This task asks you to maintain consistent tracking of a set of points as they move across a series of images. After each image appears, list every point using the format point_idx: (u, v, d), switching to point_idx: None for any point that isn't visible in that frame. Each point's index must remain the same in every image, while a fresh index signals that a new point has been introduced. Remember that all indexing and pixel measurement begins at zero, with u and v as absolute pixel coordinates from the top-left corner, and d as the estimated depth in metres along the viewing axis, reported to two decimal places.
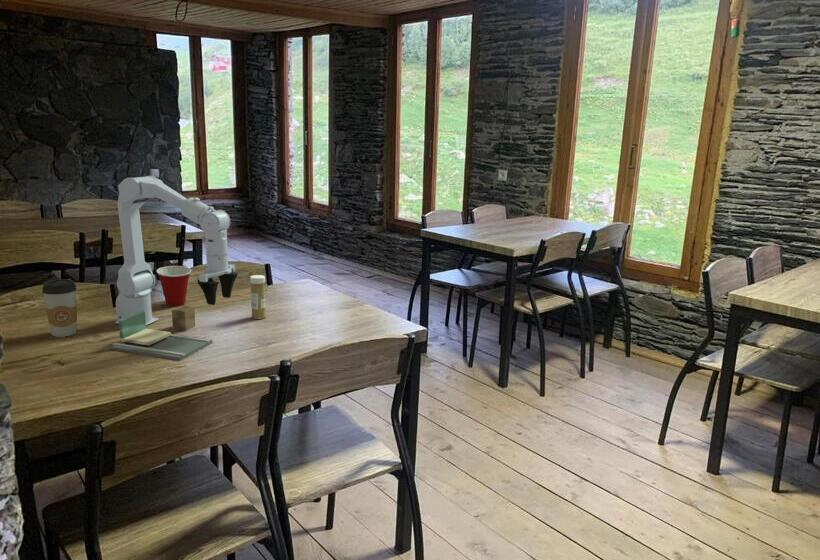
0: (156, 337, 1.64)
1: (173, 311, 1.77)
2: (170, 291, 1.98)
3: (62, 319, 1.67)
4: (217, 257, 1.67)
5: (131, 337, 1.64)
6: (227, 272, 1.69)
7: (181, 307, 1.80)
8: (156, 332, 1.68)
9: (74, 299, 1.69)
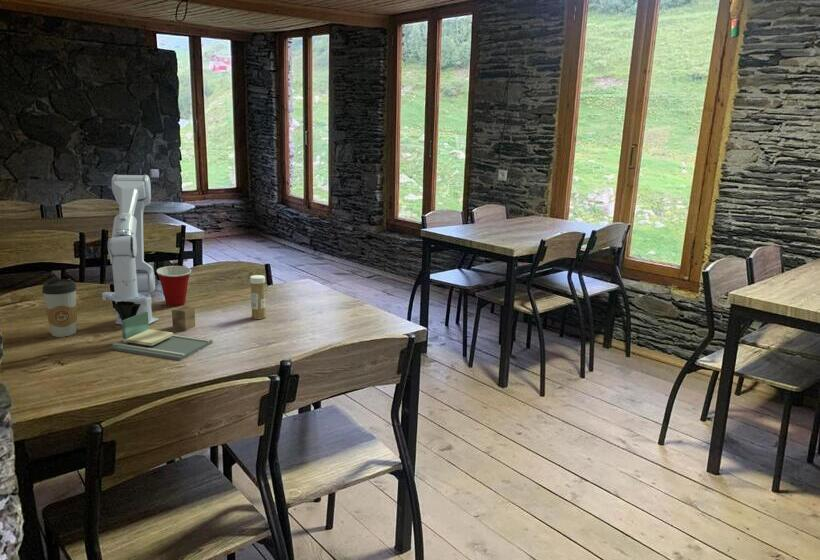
0: (159, 337, 1.64)
1: (173, 311, 1.77)
2: (170, 291, 1.98)
3: (62, 319, 1.67)
4: None
5: (134, 337, 1.63)
6: None
7: (181, 307, 1.80)
8: (159, 332, 1.68)
9: (74, 299, 1.69)
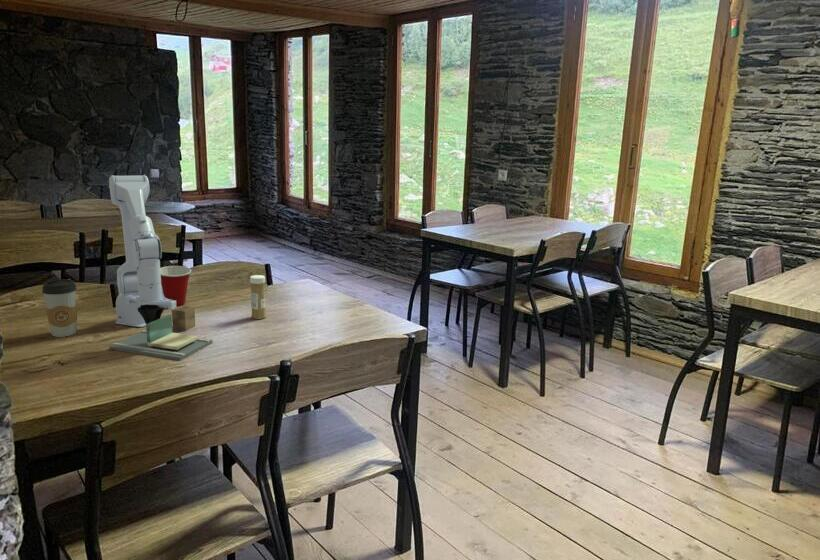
0: (183, 341, 1.62)
1: (173, 311, 1.77)
2: (170, 291, 1.98)
3: (62, 319, 1.67)
4: (138, 284, 1.61)
5: (158, 341, 1.61)
6: (138, 302, 1.59)
7: (181, 307, 1.80)
8: (183, 336, 1.66)
9: (74, 299, 1.69)
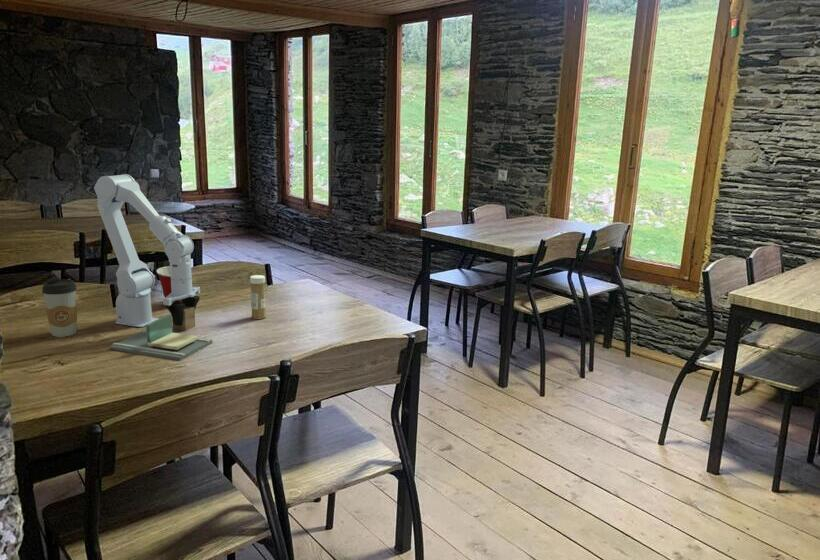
0: (183, 341, 1.62)
1: None
2: (170, 291, 1.98)
3: (62, 319, 1.67)
4: (181, 281, 1.74)
5: (158, 341, 1.61)
6: (191, 295, 1.76)
7: None
8: (183, 336, 1.66)
9: (74, 299, 1.69)
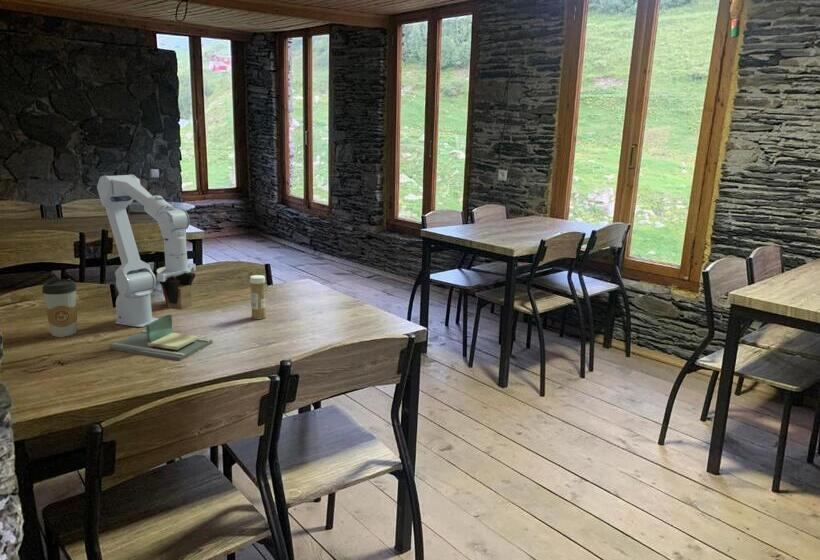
0: (183, 341, 1.62)
1: None
2: None
3: (62, 319, 1.67)
4: (175, 256, 1.65)
5: (158, 341, 1.61)
6: (186, 271, 1.67)
7: None
8: (183, 336, 1.66)
9: (74, 299, 1.69)
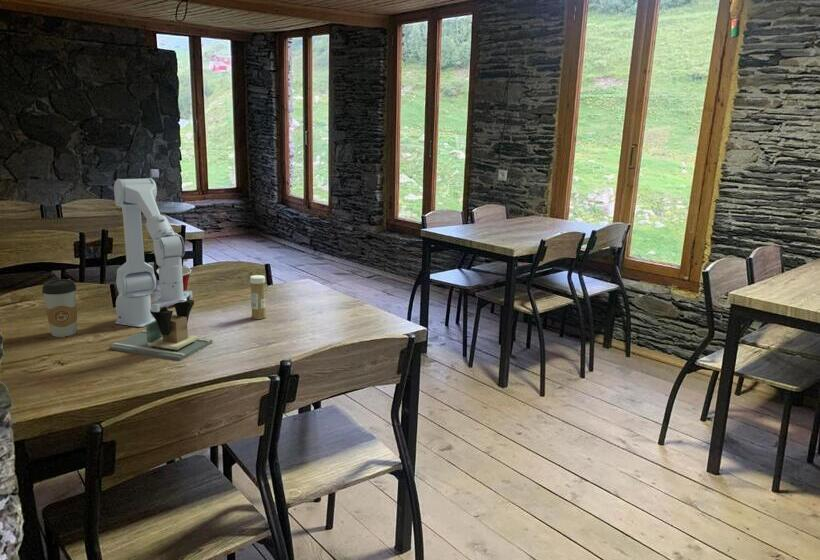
0: (183, 341, 1.62)
1: None
2: None
3: (62, 319, 1.67)
4: (170, 285, 1.57)
5: (158, 341, 1.61)
6: (182, 301, 1.59)
7: (172, 317, 1.63)
8: None
9: (74, 299, 1.69)
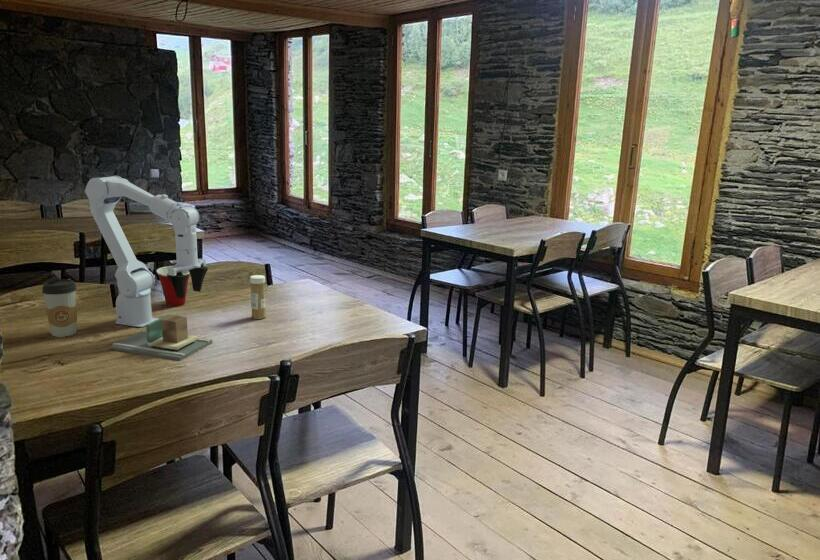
0: (183, 341, 1.62)
1: (163, 321, 1.60)
2: (170, 291, 1.98)
3: (62, 319, 1.67)
4: (186, 251, 1.72)
5: (158, 341, 1.61)
6: (196, 266, 1.73)
7: (172, 317, 1.63)
8: None
9: (74, 299, 1.69)
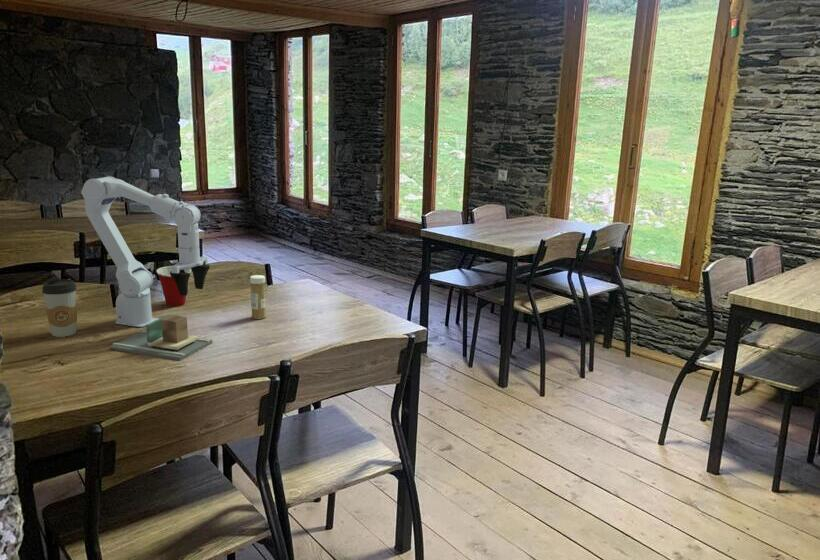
0: (183, 341, 1.62)
1: (163, 321, 1.60)
2: (170, 291, 1.98)
3: (62, 319, 1.67)
4: (189, 249, 1.74)
5: (158, 341, 1.61)
6: (198, 264, 1.76)
7: (172, 317, 1.63)
8: None
9: (74, 299, 1.69)
